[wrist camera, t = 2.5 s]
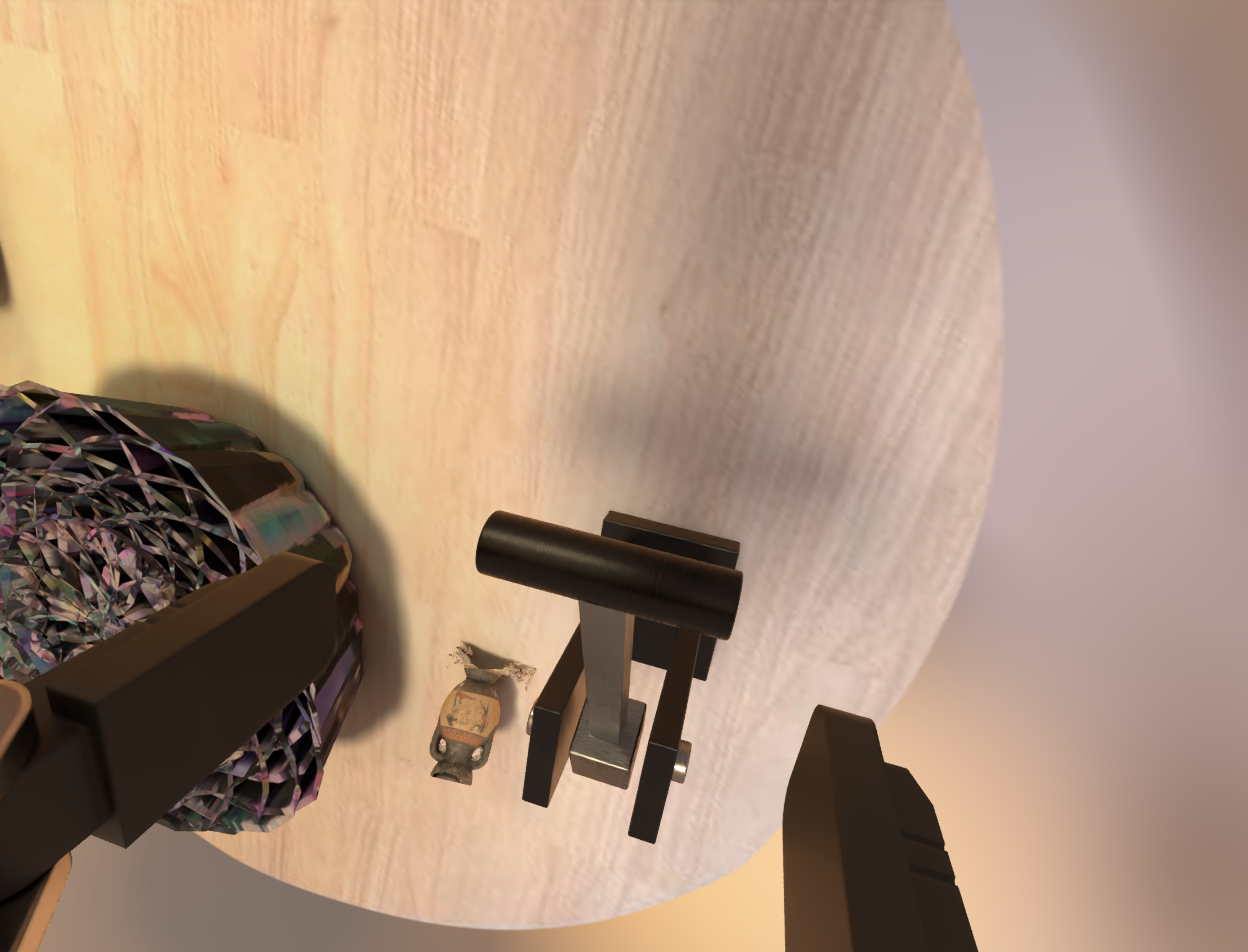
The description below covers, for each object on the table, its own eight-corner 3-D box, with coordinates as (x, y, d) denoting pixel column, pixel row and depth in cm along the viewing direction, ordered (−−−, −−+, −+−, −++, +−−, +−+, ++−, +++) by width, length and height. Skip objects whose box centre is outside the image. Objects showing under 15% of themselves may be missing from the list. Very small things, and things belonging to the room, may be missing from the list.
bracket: (609, 510, 31) (510, 653, 19) (740, 542, 30) (721, 716, 18) (589, 634, 34) (492, 826, 22) (708, 668, 33) (673, 889, 21)
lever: (507, 480, 13) (458, 570, 12) (750, 539, 12) (731, 644, 11) (553, 699, 24) (531, 759, 23) (684, 738, 23) (670, 804, 22)
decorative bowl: (159, 689, 47) (18, 796, 39) (5, 346, 37) (-240, 386, 28) (445, 736, 42) (356, 876, 33) (361, 346, 31) (195, 396, 22)
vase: (523, 735, 38) (481, 815, 32) (447, 704, 38) (392, 777, 33) (540, 670, 36) (498, 743, 30) (459, 639, 36) (403, 704, 31)
